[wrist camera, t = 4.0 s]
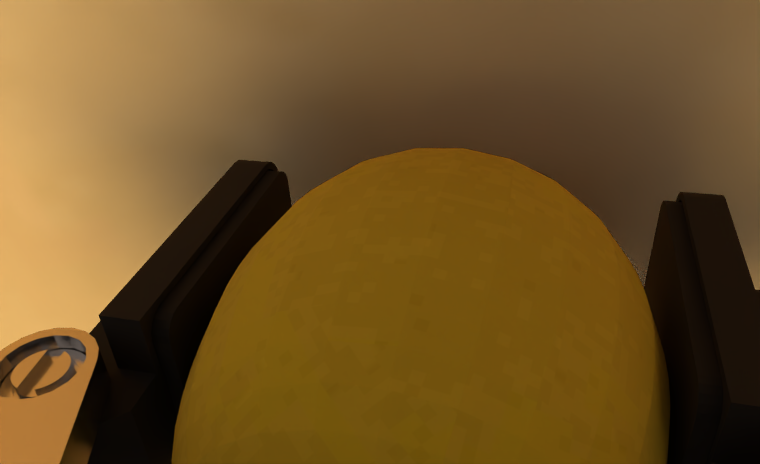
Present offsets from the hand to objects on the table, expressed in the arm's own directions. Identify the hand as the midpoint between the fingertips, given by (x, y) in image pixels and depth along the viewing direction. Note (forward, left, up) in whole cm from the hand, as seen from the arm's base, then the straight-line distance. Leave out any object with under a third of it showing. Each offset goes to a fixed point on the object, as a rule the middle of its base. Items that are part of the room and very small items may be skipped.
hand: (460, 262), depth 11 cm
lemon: (0, 0, -1) cm, 1 cm away
